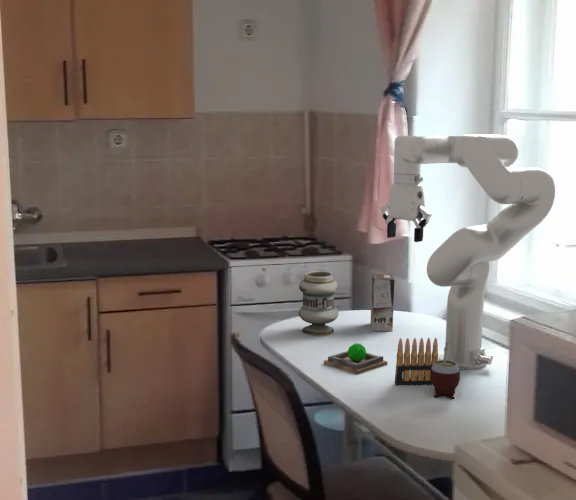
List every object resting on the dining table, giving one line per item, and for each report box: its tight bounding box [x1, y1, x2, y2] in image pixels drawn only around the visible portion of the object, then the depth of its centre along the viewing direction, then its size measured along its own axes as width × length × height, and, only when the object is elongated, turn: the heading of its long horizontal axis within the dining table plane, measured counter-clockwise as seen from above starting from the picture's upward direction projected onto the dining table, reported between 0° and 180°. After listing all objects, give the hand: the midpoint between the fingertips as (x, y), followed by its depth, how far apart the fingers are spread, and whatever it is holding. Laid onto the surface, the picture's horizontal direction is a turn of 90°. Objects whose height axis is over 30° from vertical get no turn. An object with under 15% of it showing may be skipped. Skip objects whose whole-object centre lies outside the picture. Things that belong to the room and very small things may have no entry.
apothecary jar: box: [298, 270, 340, 337], centre depth 258 cm, size 12×12×18 cm
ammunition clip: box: [394, 337, 439, 387], centre depth 212 cm, size 11×2×12 cm, turn 94°
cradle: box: [323, 350, 388, 375], centre depth 228 cm, size 12×12×2 cm
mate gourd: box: [430, 341, 461, 400], centre depth 204 cm, size 8×8×15 cm
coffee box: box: [370, 273, 395, 332], centre depth 264 cm, size 9×6×16 cm
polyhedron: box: [347, 343, 367, 362], centre depth 228 cm, size 5×5×5 cm
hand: (404, 239), depth 245 cm, fingers open, 9 cm apart
